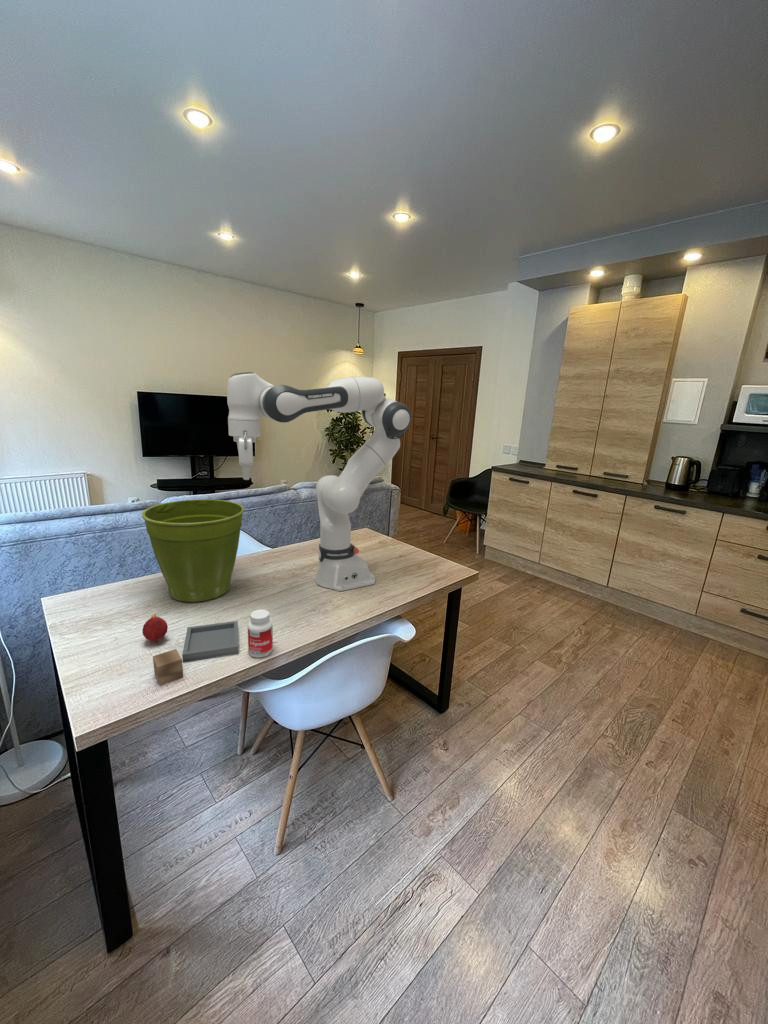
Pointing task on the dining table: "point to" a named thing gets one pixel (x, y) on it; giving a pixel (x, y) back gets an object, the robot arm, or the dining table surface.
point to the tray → (211, 641)
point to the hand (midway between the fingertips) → (246, 476)
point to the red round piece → (154, 628)
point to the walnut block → (168, 667)
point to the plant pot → (195, 545)
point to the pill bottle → (260, 634)
